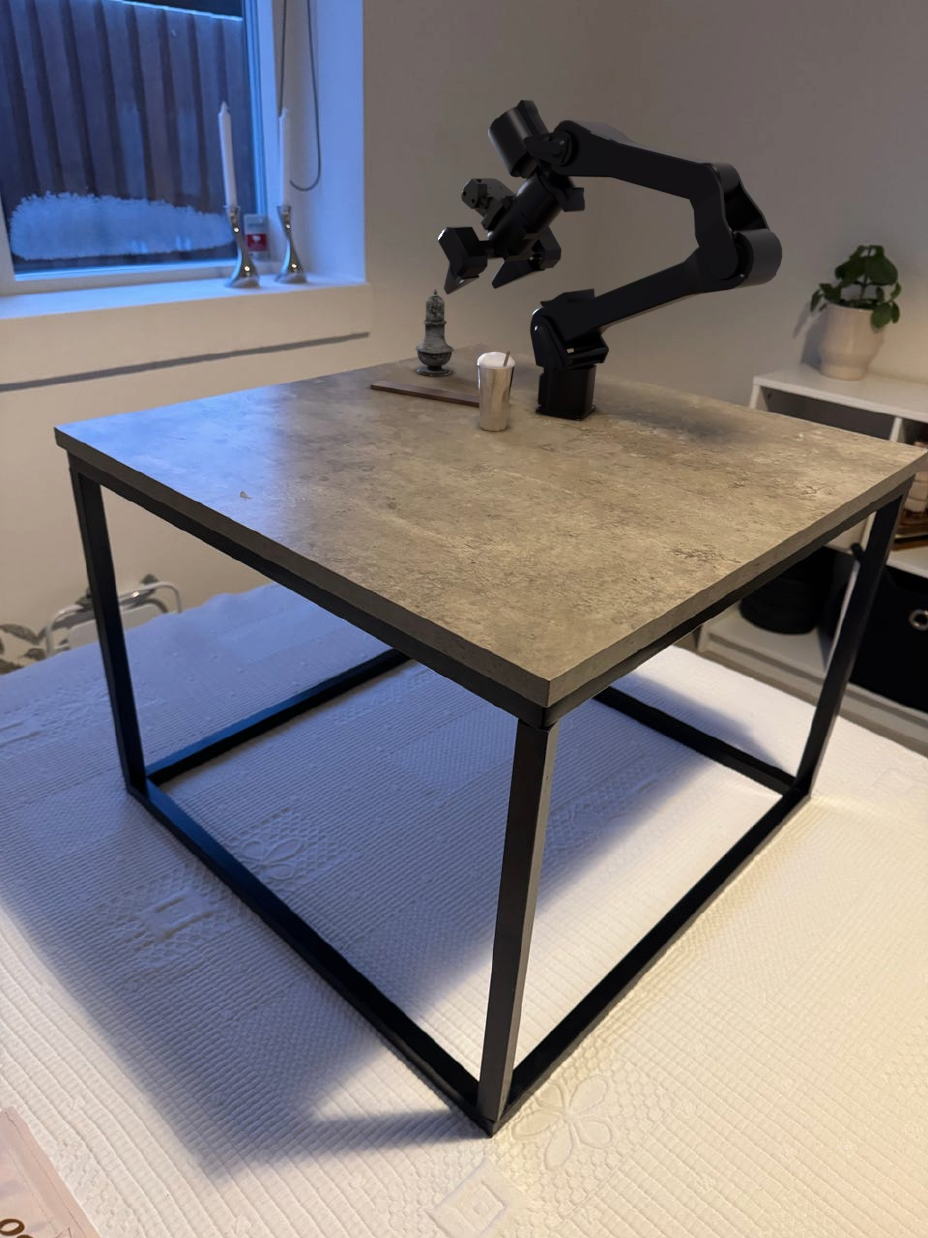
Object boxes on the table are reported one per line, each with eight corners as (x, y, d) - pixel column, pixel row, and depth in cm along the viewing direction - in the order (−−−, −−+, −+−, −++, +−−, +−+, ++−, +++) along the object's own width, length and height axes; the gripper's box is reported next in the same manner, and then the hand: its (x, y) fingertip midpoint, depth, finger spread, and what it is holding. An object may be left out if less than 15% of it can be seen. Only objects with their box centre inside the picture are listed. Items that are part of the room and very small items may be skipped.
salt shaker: (409, 374, 130) (409, 290, 124) (422, 365, 135) (423, 284, 129) (446, 378, 128) (448, 293, 122) (458, 369, 133) (460, 287, 127)
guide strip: (507, 404, 117) (507, 400, 117) (497, 410, 114) (498, 405, 114) (381, 383, 124) (381, 379, 124) (370, 388, 122) (370, 384, 122)
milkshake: (487, 436, 105) (491, 352, 100) (469, 423, 109) (472, 342, 104) (520, 432, 106) (525, 349, 101) (501, 420, 110) (505, 340, 105)
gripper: (552, 155, 115) (490, 237, 127) (449, 154, 103) (392, 243, 116) (592, 225, 114) (525, 300, 126) (492, 232, 102) (430, 314, 115)
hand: (470, 288), depth 120 cm, fingers open, 9 cm apart
